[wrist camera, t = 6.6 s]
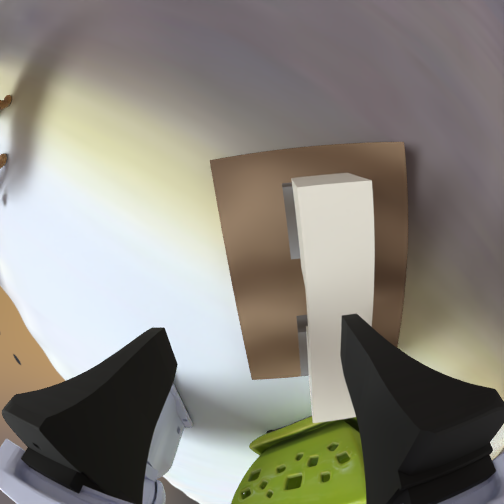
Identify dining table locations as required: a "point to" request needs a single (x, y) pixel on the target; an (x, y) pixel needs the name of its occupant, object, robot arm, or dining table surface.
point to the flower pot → (306, 465)
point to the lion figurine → (1, 159)
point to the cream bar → (334, 277)
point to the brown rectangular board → (287, 244)
